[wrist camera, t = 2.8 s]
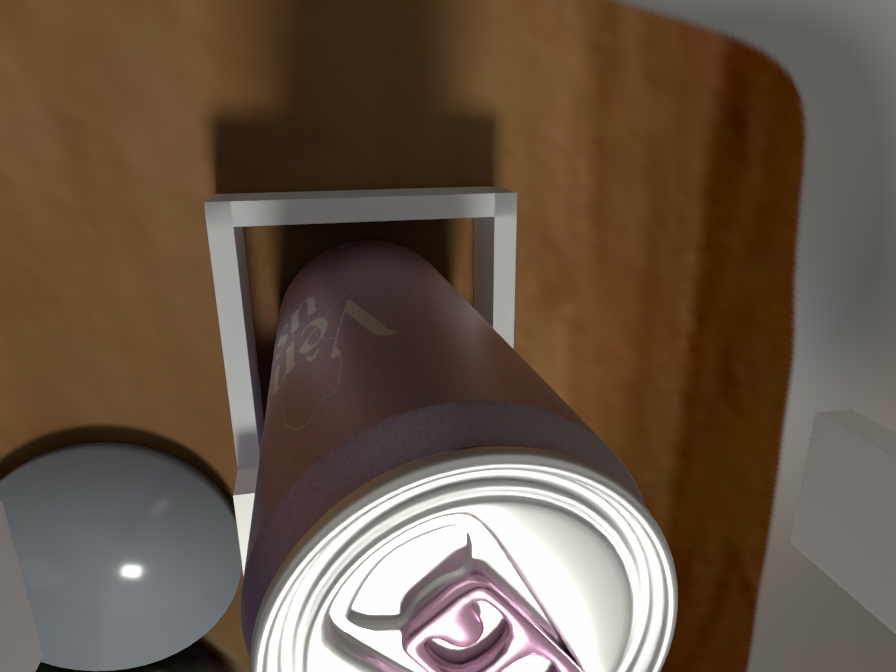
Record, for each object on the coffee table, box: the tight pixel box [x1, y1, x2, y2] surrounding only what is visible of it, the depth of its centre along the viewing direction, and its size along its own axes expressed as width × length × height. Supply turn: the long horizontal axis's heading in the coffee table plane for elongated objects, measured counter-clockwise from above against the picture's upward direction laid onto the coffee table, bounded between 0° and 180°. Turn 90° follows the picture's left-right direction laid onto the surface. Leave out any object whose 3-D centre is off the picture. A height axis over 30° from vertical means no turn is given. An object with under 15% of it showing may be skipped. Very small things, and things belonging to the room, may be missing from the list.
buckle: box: [204, 186, 517, 575], centre depth 23 cm, size 28×9×5 cm, turn 1°
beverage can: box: [241, 240, 678, 672], centre depth 15 cm, size 6×6×15 cm
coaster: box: [0, 442, 242, 671], centre depth 22 cm, size 9×9×1 cm
